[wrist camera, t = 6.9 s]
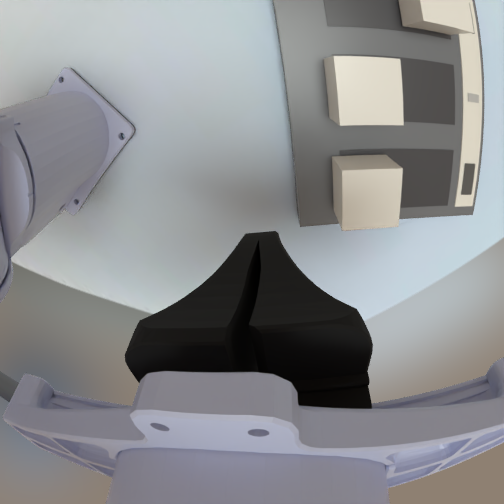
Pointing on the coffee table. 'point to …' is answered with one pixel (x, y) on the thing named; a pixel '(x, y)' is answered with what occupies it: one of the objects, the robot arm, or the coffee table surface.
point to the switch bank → (414, 105)
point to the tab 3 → (437, 15)
